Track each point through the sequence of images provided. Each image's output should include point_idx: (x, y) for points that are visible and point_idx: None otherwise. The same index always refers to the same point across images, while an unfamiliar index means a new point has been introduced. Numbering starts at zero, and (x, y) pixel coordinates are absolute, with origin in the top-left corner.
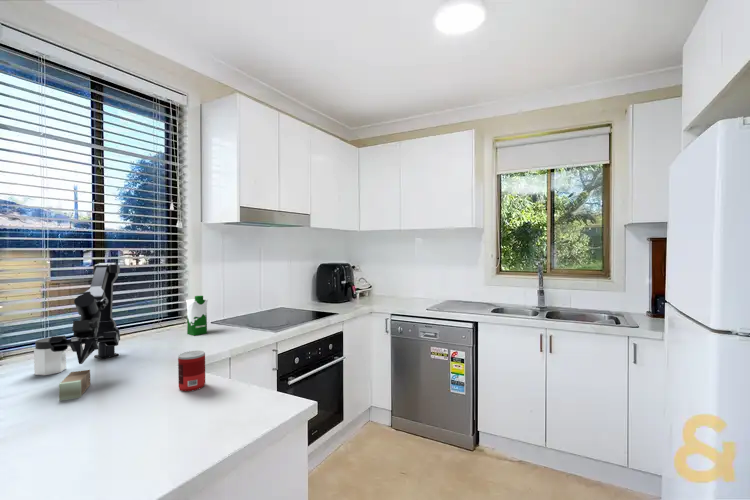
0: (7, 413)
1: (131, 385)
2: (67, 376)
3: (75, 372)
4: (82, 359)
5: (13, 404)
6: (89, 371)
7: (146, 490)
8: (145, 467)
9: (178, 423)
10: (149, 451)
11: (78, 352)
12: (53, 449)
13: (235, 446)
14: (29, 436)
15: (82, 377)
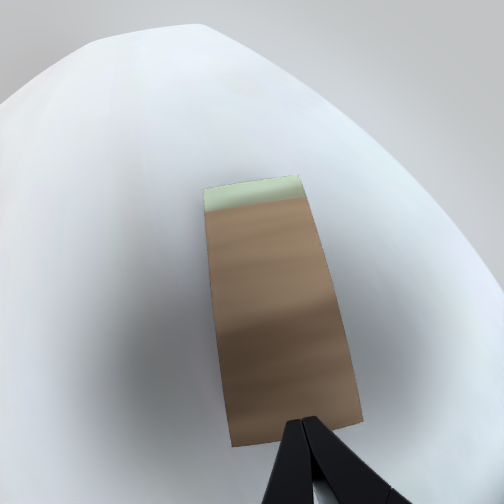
0: (398, 164)
1: (52, 328)
2: (334, 308)
3: (323, 400)
4: (284, 439)
5: (446, 233)
6: (230, 427)
7: (100, 40)
8: (94, 51)
9: (39, 105)
10: (84, 63)
11: (373, 500)
12: (183, 51)
13: (29, 82)
14: (241, 68)
15: (212, 255)
